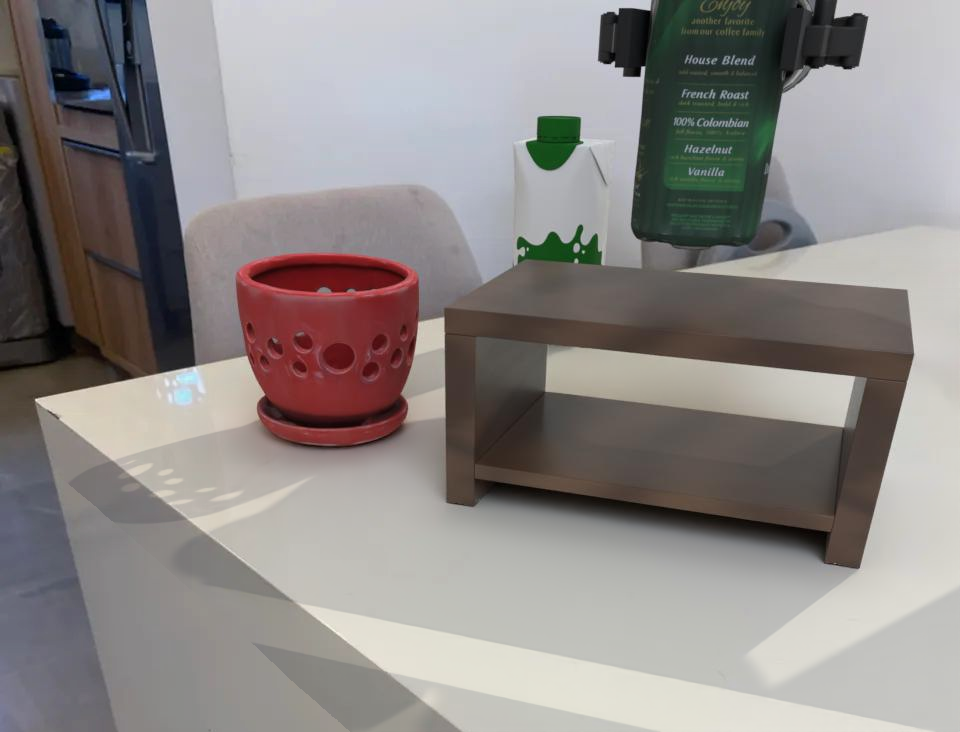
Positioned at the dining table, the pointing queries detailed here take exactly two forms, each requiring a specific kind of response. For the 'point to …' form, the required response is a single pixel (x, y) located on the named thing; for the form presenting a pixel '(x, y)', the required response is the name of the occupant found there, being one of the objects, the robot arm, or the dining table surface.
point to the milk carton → (561, 194)
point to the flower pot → (329, 344)
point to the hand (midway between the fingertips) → (705, 39)
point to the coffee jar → (708, 120)
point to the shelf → (665, 429)
